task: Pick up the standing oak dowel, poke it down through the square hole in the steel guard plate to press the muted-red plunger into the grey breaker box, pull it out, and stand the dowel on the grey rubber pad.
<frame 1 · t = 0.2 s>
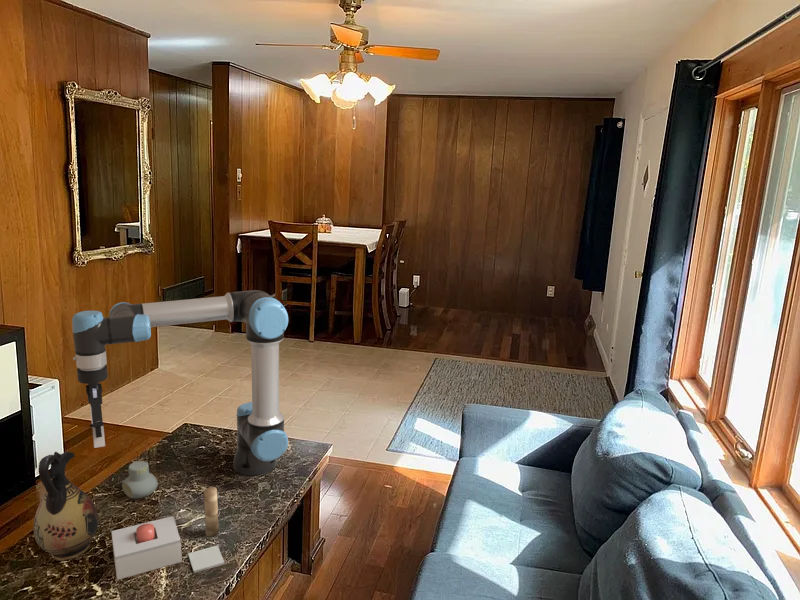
hand: (98, 436, 172), 28 cm above the table, fingers open, 13 cm apart
air freshener: (140, 493, 194), on the table
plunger: (145, 536, 162), point 7 cm above the table, slide at 0.0 cm
ceramic jug: (67, 552, 165), on the table
breaker box: (147, 557, 164), on the table
tan wooden rod: (212, 533, 175), on the table
pad: (206, 559, 164), on the table
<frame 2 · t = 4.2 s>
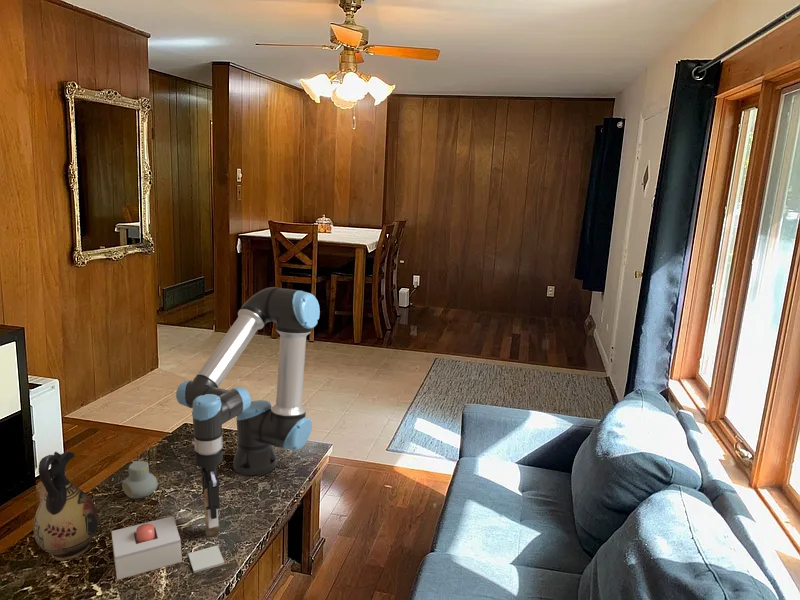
hand: (211, 522, 174), 4 cm above the table, fingers closed on tan wooden rod, 3 cm apart
tan wooden rod: (212, 533, 175), on the table, touching gripper
everything else where it was.
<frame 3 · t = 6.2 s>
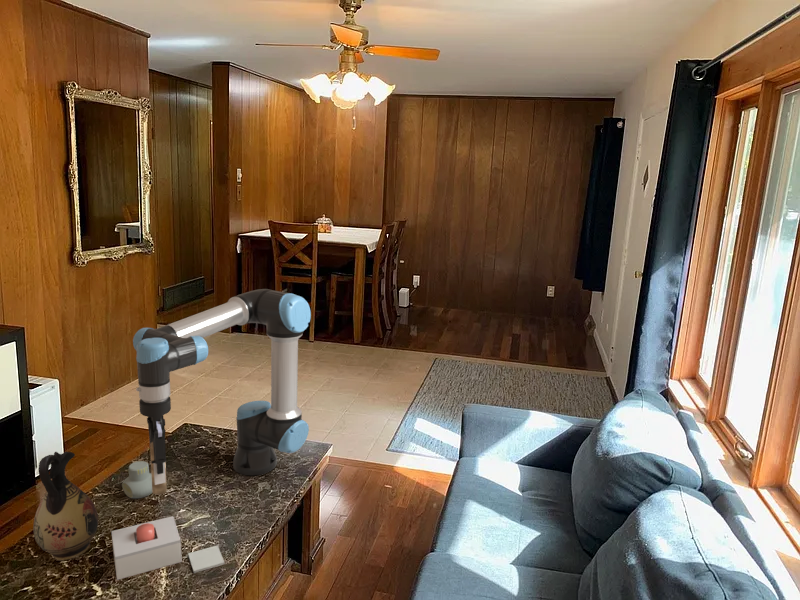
hand: (158, 479, 161), 22 cm above the table, fingers closed on tan wooden rod, 3 cm apart
tan wooden rod: (159, 491, 162), point 19 cm above the table, touching gripper
everything else where it was.
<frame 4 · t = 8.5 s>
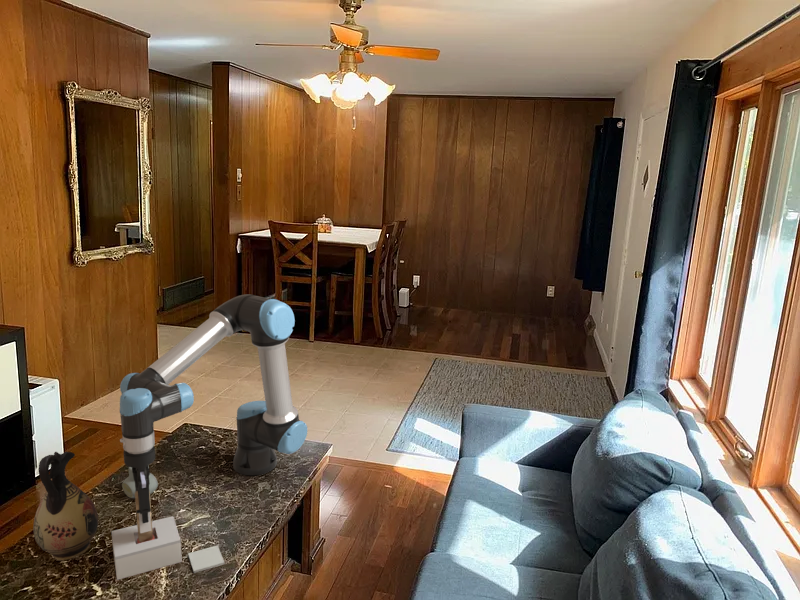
hand: (144, 526, 161), 10 cm above the table, fingers closed on tan wooden rod, 3 cm apart
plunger: (146, 546, 163), point 3 cm above the table, slide at 3.1 cm, touching tan wooden rod
tan wooden rod: (145, 538, 162), point 6 cm above the table, touching gripper, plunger
everything else where it was.
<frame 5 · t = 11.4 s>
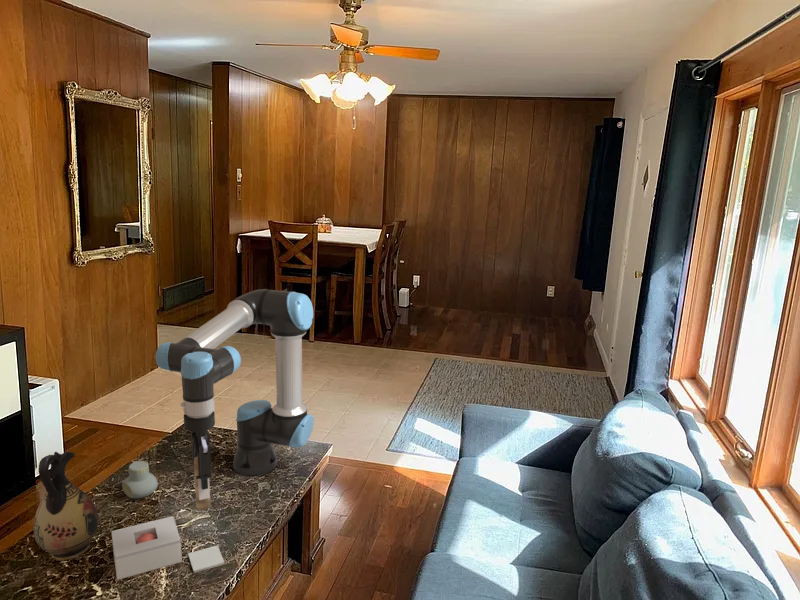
hand: (202, 494, 159), 20 cm above the table, fingers closed on tan wooden rod, 3 cm apart
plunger: (146, 546, 163), point 3 cm above the table, slide at 3.1 cm
tan wooden rod: (203, 506, 160), point 17 cm above the table, touching gripper
everything else where it was.
when the fingers open (5 cm above the table, at t = 13.7 s): tan wooden rod stays where it is, resting on pad.
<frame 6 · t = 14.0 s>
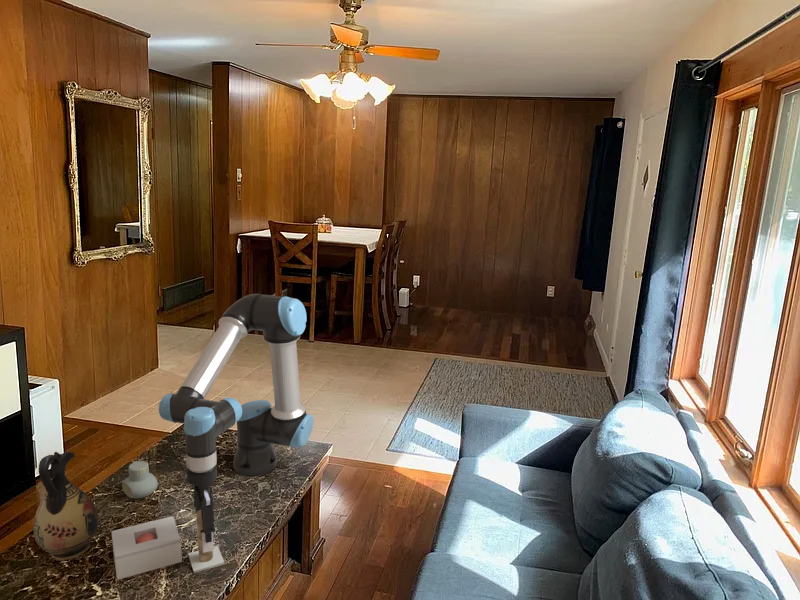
hand: (205, 542, 162), 5 cm above the table, fingers open, 7 cm apart
tan wooden rod: (206, 557, 164), point 1 cm above the table, touching pad
everything else where it was.
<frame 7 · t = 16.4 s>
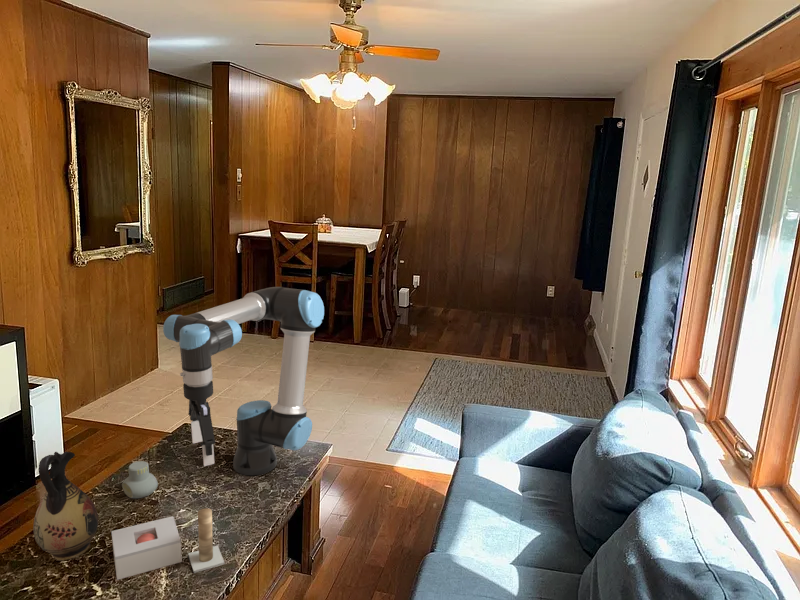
hand: (203, 452, 166), 27 cm above the table, fingers open, 13 cm apart
nothing on the table moved.
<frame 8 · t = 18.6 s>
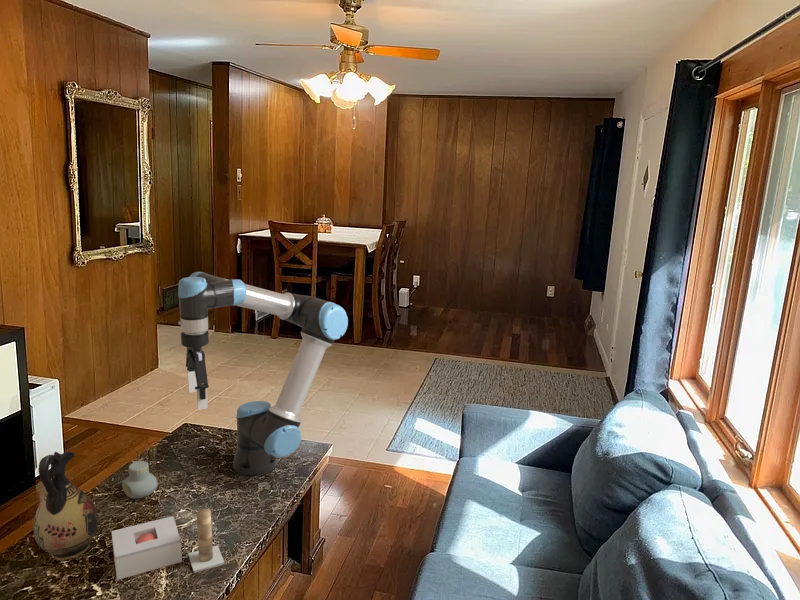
hand: (197, 400, 177), 37 cm above the table, fingers open, 13 cm apart
nothing on the table moved.
at the end: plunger slide at 3.1 cm; tan wooden rod inside the target area on the pad (0.0 cm from its centre), point 0.6 cm above the pad's base; tan wooden rod tilted 1° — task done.
